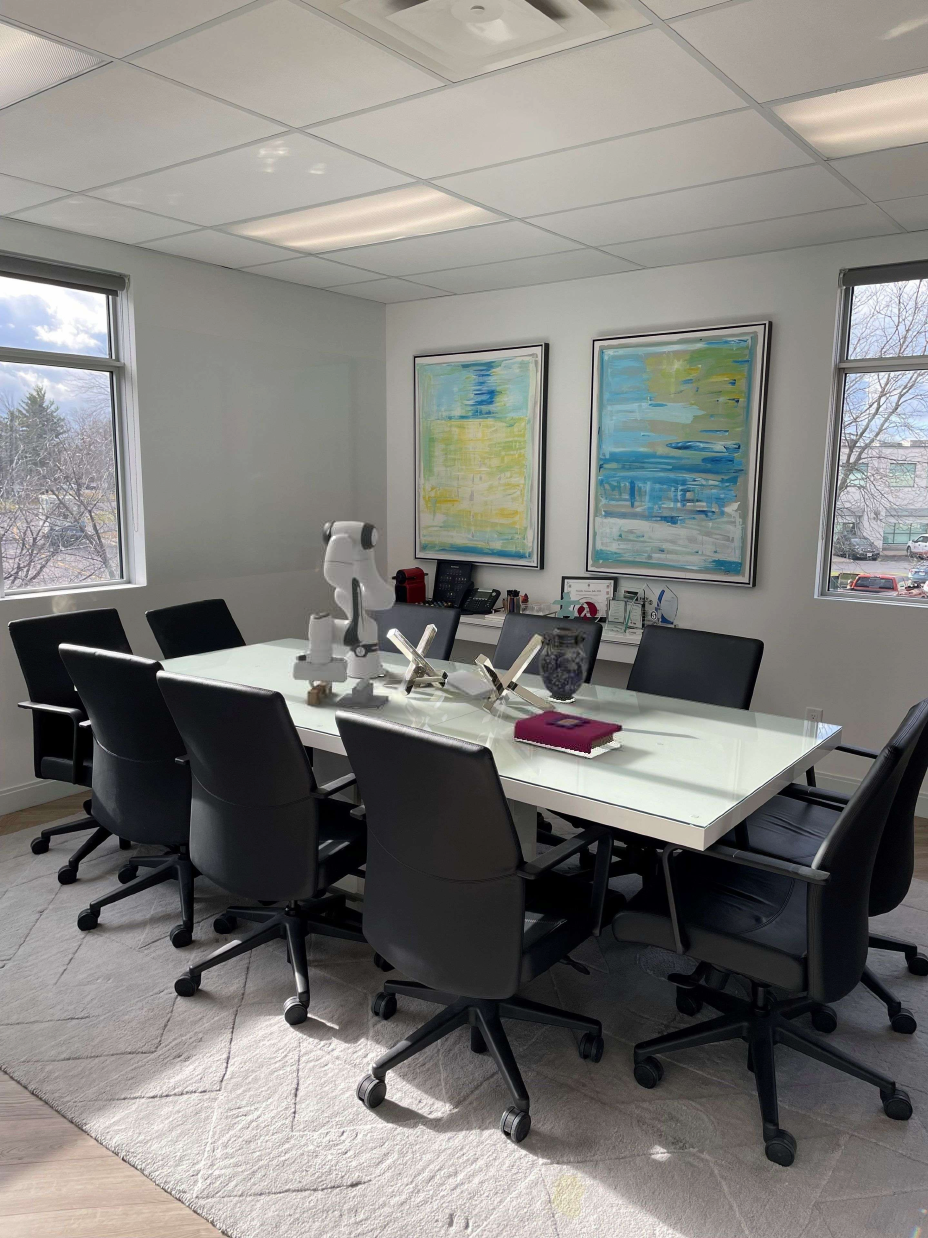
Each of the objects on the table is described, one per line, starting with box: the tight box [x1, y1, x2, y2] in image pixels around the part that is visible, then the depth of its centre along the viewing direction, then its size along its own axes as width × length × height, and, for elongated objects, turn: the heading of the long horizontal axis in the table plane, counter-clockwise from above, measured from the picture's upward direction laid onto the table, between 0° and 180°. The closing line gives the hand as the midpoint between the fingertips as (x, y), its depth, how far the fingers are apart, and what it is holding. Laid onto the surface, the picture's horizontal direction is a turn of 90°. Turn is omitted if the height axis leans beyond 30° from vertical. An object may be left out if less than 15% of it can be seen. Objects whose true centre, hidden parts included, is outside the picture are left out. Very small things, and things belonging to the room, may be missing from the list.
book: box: [513, 709, 623, 754], centre depth 286 cm, size 21×28×8 cm
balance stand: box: [335, 677, 390, 710], centre depth 329 cm, size 15×16×8 cm
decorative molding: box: [446, 669, 494, 700], centre depth 359 cm, size 34×5×10 cm
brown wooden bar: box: [306, 681, 333, 707], centre depth 334 cm, size 22×3×5 cm, turn 173°
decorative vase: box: [538, 626, 589, 701], centre depth 343 cm, size 21×19×28 cm
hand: (320, 692), depth 334 cm, fingers closed on brown wooden bar, 3 cm apart
